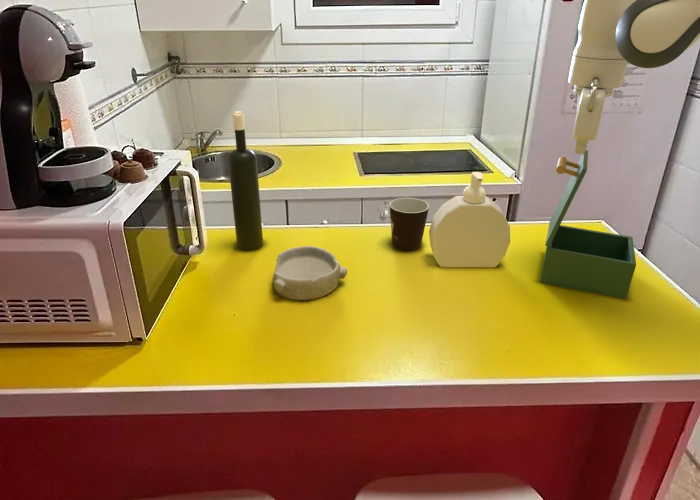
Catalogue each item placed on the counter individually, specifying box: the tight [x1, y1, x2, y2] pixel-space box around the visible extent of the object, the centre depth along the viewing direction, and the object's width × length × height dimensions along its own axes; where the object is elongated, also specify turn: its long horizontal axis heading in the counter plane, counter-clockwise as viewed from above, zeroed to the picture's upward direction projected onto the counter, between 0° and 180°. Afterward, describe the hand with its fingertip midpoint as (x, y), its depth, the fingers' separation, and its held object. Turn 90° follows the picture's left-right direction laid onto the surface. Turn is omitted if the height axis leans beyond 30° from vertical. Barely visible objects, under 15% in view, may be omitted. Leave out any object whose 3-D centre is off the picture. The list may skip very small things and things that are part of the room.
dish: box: [272, 245, 348, 301], centre depth 101 cm, size 14×14×5 cm
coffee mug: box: [388, 197, 430, 252], centre depth 116 cm, size 12×9×10 cm
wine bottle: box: [227, 110, 264, 252], centre depth 109 cm, size 6×6×30 cm
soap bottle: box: [428, 171, 511, 268], centre depth 106 cm, size 16×5×20 cm, turn 90°
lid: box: [544, 149, 589, 247], centre depth 101 cm, size 16×13×5 cm
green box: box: [539, 224, 637, 300], centre depth 104 cm, size 16×13×8 cm
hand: (579, 152), depth 96 cm, fingers closed
